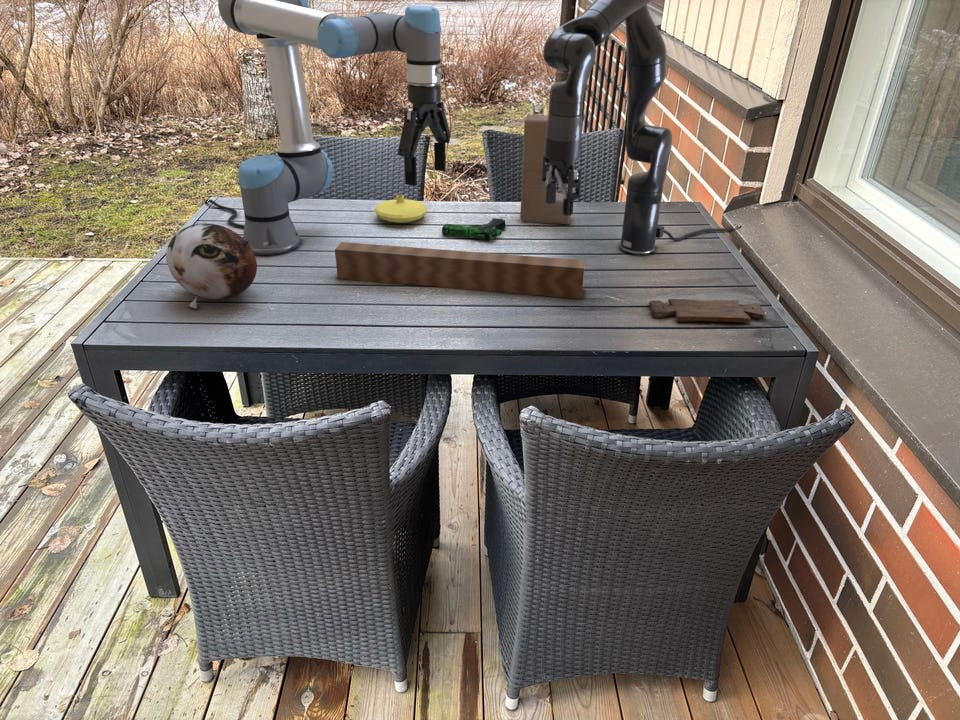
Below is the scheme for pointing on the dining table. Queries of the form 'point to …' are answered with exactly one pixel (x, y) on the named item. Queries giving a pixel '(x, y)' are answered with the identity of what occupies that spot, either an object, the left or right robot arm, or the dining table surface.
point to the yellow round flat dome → (400, 210)
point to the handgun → (476, 230)
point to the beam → (460, 269)
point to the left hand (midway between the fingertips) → (426, 177)
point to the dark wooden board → (706, 310)
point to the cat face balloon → (211, 261)
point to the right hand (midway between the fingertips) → (558, 208)
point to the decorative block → (537, 177)
